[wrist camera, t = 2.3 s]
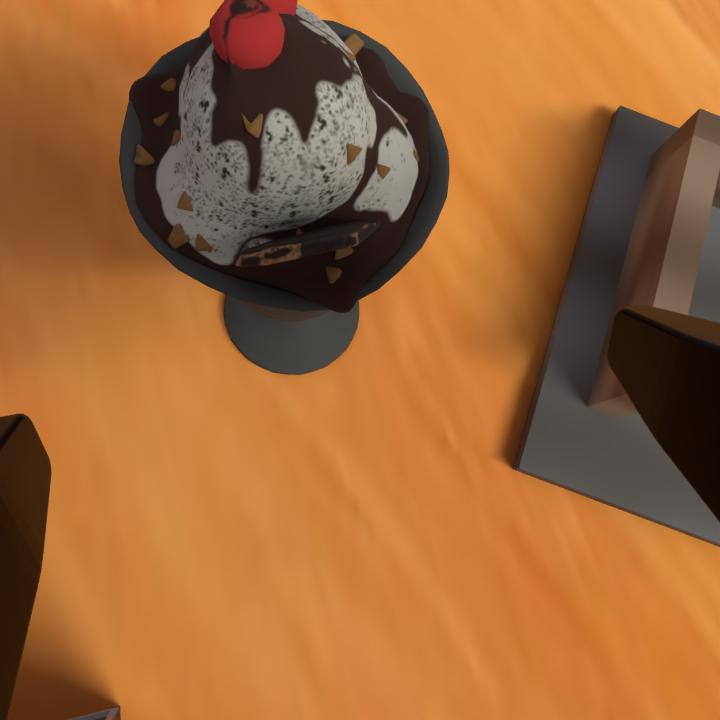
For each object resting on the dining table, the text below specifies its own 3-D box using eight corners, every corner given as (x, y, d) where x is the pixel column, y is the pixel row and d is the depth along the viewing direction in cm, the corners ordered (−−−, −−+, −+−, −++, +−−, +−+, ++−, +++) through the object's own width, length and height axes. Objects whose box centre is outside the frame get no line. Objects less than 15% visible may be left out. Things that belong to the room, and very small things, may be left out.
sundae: (252, 198, 22) (173, -355, 8) (409, 275, 22) (616, -140, 8) (163, 345, 21) (-144, -17, 6) (332, 429, 21) (418, 260, 6)
